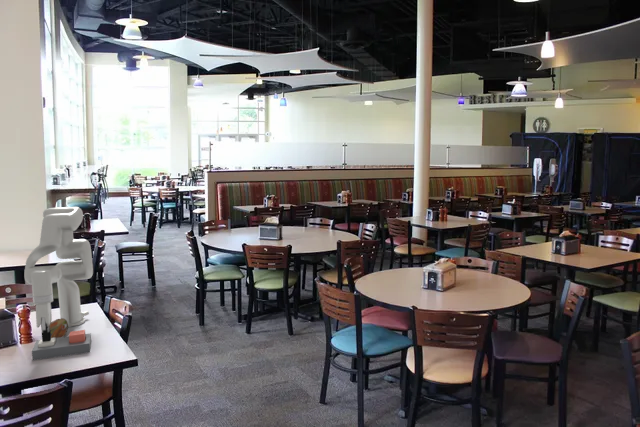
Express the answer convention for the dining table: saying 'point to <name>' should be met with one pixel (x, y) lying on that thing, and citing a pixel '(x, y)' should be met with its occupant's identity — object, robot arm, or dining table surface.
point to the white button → (47, 343)
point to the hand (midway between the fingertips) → (46, 340)
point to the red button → (77, 336)
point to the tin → (58, 328)
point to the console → (61, 348)
